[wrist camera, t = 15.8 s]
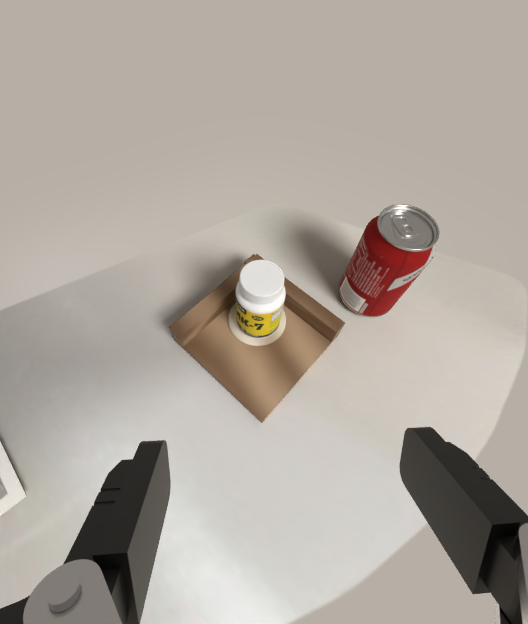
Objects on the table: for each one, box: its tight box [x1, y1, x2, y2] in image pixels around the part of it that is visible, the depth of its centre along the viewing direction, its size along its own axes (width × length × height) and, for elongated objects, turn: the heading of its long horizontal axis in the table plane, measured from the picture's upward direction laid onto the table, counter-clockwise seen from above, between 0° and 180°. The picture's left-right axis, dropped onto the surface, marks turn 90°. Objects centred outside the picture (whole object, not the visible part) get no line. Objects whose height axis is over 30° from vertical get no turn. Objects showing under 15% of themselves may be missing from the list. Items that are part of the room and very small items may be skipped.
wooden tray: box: [169, 254, 345, 423], centre depth 34 cm, size 13×13×4 cm
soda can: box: [339, 204, 439, 317], centre depth 34 cm, size 7×7×12 cm
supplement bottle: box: [236, 260, 286, 339], centre depth 31 cm, size 5×5×8 cm
